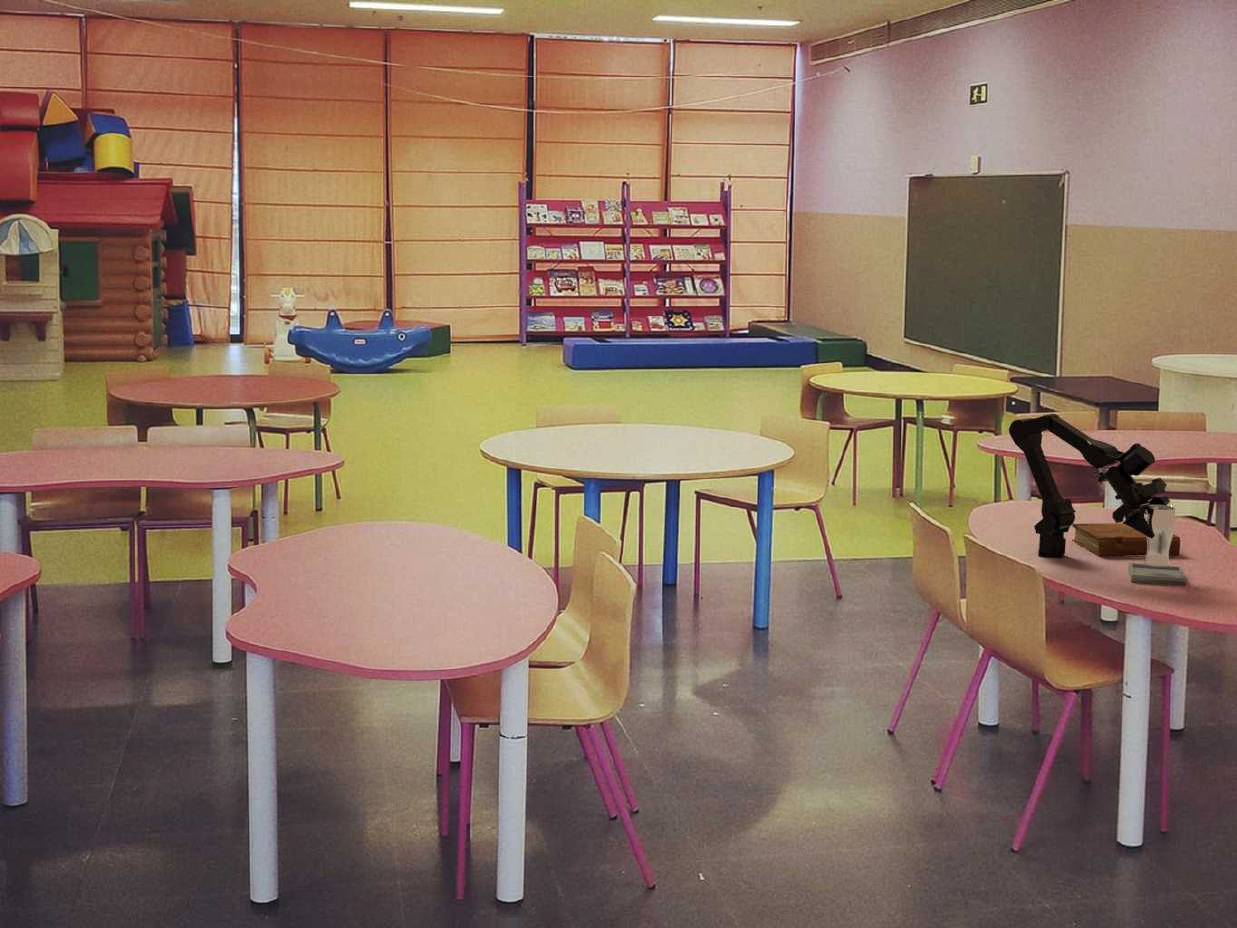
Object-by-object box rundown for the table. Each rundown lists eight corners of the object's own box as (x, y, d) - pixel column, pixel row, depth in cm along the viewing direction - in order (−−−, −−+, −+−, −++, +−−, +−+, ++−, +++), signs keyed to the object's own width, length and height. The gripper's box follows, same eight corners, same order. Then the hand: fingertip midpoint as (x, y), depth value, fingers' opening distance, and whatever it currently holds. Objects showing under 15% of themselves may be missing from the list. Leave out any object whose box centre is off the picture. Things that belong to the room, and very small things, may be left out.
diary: (1098, 558, 381) (1099, 538, 380) (1071, 543, 399) (1072, 523, 398) (1179, 557, 382) (1180, 536, 381) (1148, 541, 401) (1149, 522, 400)
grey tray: (1131, 582, 353) (1131, 574, 353) (1128, 570, 366) (1128, 562, 365) (1186, 586, 350) (1186, 578, 349) (1180, 573, 362) (1181, 566, 362)
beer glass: (1177, 566, 355) (1182, 509, 352) (1153, 568, 353) (1158, 510, 350) (1159, 560, 361) (1164, 503, 359) (1136, 561, 360) (1141, 505, 357)
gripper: (1126, 472, 351) (1163, 522, 344) (1166, 464, 362) (1202, 513, 356) (1096, 497, 358) (1131, 547, 352) (1136, 489, 370) (1171, 537, 363)
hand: (1160, 535), depth 356 cm, fingers closed on beer glass, 7 cm apart
